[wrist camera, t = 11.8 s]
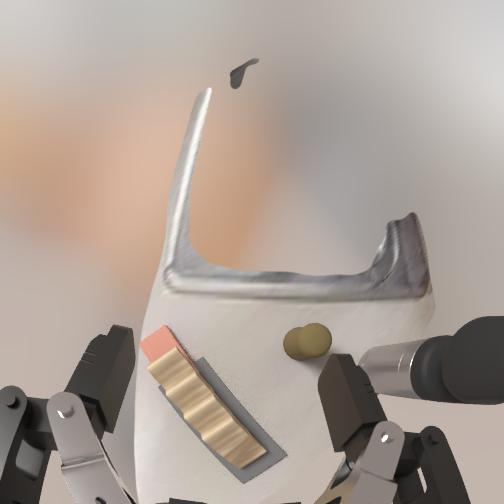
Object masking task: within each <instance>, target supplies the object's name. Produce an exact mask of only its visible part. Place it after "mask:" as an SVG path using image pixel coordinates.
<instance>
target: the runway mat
mask: <svg viewBox="0 0 504 504" xmlns="http://www.w3.org/2000/svg"><path fill="white" fill-rule="evenodd" d="M194 365H195V366H196V368H197V369H198V370H199V372H200V373H199V374H200V375H201V376H202V377H203V378H204V379H205V380H206V382H207V383H208V384H209V385H210V386H211V387H212V388H213V390H214V393H215V394H216V395H217V396H218V397H219V398H220V399H221V400H222V402H223V403H224V404H225V405H226V406H227V407H228V408H229V409H230V410H231V412H232V414H233V415H234V416H235V417H236V418H237V419H238V420H239V421H240V422H241V423H242V424H243V425H244V426H245V427H246V428H247V429H248V431H249V433H250V434H251V435H252V436H253V437H254V438H255V439H256V440H257V441H258V442H259V443H260V444H261V445H263V446H264V448H265V450H266V451H267V452H265V453H264V454H262V455H261V456H259V457H258V458H256V459H255V460H253V461H252V462H250V463H249V464H247V465H245V466H244V467H242V468H241V469H238V468H236V467H235V466H234V465H232V464H231V463H230V462H229V461H227V460H226V459H225V458H224V457H222V456H221V455H220V454H219V453H217V452H216V451H215V450H214V449H213V448H211V447H210V446H209V445H208V444H207V443H205V442H204V441H203V440H202V437H201V434H200V433H199V432H198V431H197V430H196V429H195V428H194V427H193V426H192V425H191V424H190V423H188V422H187V421H186V420H185V419H184V414H183V412H182V411H181V410H180V409H179V408H178V407H177V406H176V405H175V404H174V403H173V402H172V401H171V400H170V399H169V398H168V397H167V396H166V390H165V389H164V388H163V387H162V386H161V385H160V386H159V387H158V388H159V389H160V391H161V392H162V393H163V395H164V396H165V397H166V399H167V400H168V401H169V403H170V404H171V405H172V407H173V408H174V409H175V410H176V412H177V413H178V414H179V415H180V417H181V418H182V419H183V420H184V422H185V423H186V424H187V425H188V426H189V428H190V429H191V430H192V431H193V432H194V434H195V435H196V436H197V437H198V438H199V439H200V440H201V442H202V443H203V444H204V445H205V446H206V447H207V448H208V449H209V450H210V451H211V452H212V454H213V455H214V456H215V457H216V458H217V459H218V460H219V461H220V462H221V463H222V464H223V465H224V466H225V467H226V468H227V469H228V470H229V471H230V472H231V473H232V474H233V475H234V476H235V477H236V478H237V479H238V480H239V481H240V482H242V483H245V482H246V481H248V480H250V479H251V478H253V477H255V476H256V475H258V474H259V473H261V472H263V471H264V470H266V469H267V468H269V467H270V466H272V465H273V464H275V463H276V462H278V461H279V460H281V459H282V458H283V457H285V456H286V455H287V454H286V453H285V452H284V451H283V450H282V449H281V448H280V447H279V446H278V445H277V444H276V443H275V442H274V441H273V440H272V439H271V438H270V437H269V435H268V434H267V433H266V432H265V431H264V430H263V429H262V428H261V427H260V426H259V425H258V424H257V422H256V421H255V420H254V419H253V418H252V417H251V416H250V415H249V413H248V412H247V411H246V410H245V409H244V408H243V406H242V405H241V404H240V403H239V402H238V401H237V399H236V398H235V397H234V396H233V395H232V393H231V392H230V391H229V390H228V389H227V387H226V386H225V385H224V384H223V382H222V381H221V380H220V379H219V377H218V376H217V375H216V373H215V372H214V371H213V370H212V368H211V367H210V366H209V364H208V363H207V362H206V361H205V359H204V358H203V357H202V358H200V359H199V360H197V361H196V362H194Z"/></svg>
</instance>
